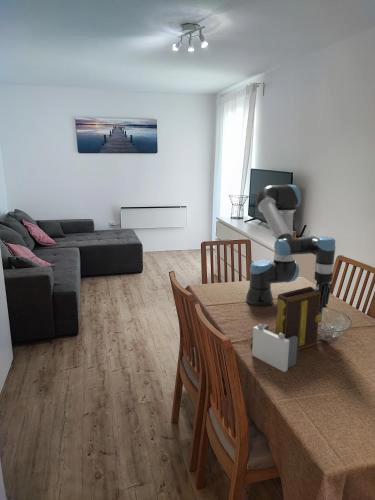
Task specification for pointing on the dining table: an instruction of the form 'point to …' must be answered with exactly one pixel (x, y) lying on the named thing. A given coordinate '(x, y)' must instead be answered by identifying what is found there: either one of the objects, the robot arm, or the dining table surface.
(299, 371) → the dining table surface
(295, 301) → the book
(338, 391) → the dining table surface
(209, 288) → the dining table surface
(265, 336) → the carcass
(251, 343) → the hinge block
